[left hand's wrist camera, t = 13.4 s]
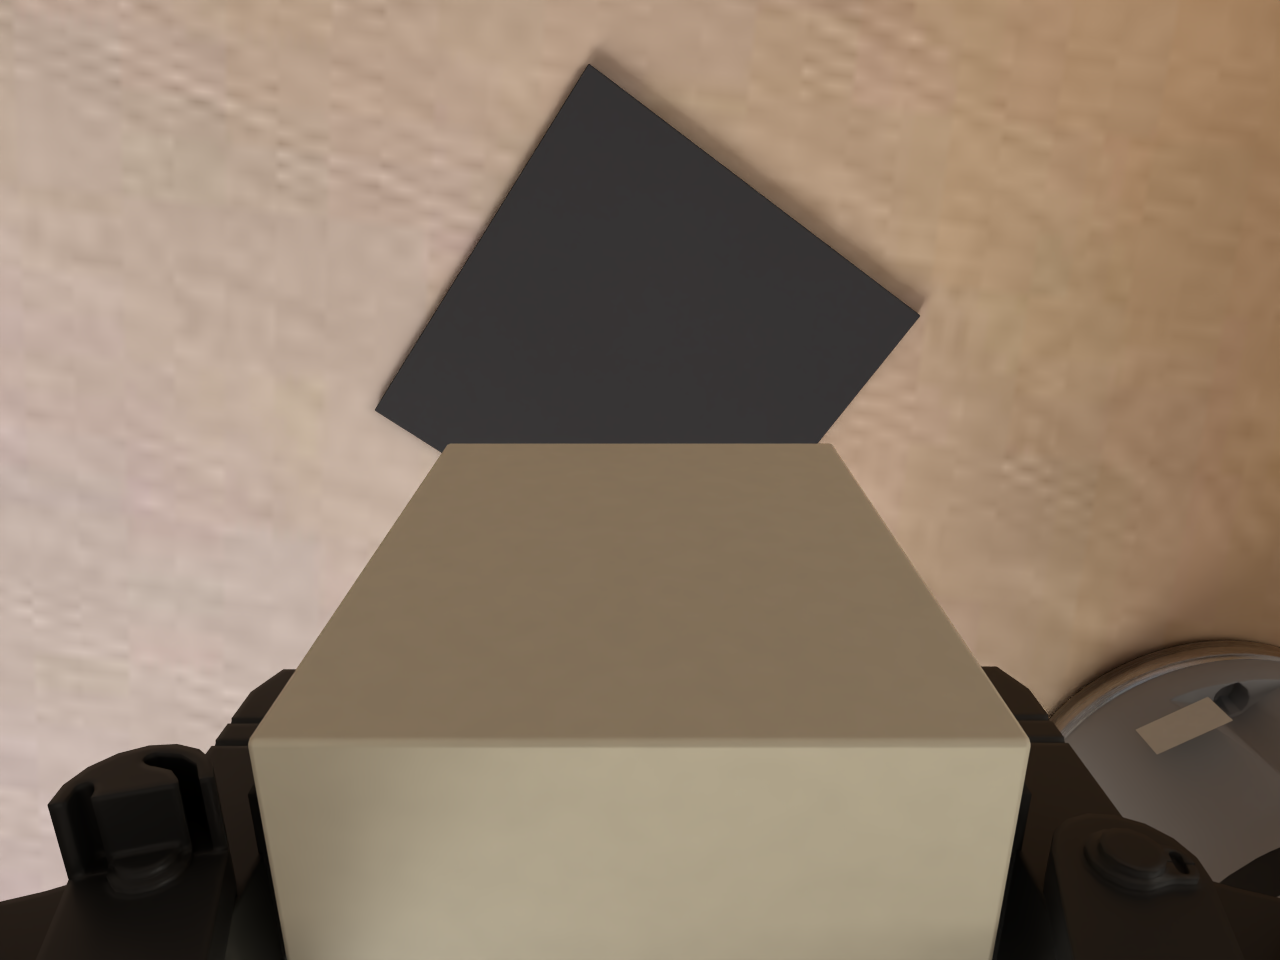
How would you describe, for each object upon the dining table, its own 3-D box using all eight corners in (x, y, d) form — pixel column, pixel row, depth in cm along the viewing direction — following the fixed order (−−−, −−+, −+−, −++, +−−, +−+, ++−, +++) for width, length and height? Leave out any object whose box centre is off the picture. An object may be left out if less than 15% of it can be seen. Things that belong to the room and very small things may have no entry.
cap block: (832, 442, 13) (1034, 741, 6) (807, 761, 15) (942, 1248, 8) (446, 442, 13) (244, 741, 6) (472, 762, 15) (336, 1248, 8)
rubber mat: (918, 314, 31) (920, 315, 31) (685, 604, 35) (685, 607, 35) (589, 64, 28) (588, 63, 28) (376, 408, 32) (374, 410, 32)
